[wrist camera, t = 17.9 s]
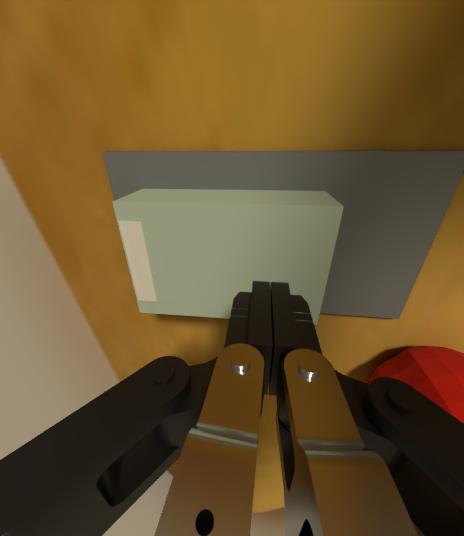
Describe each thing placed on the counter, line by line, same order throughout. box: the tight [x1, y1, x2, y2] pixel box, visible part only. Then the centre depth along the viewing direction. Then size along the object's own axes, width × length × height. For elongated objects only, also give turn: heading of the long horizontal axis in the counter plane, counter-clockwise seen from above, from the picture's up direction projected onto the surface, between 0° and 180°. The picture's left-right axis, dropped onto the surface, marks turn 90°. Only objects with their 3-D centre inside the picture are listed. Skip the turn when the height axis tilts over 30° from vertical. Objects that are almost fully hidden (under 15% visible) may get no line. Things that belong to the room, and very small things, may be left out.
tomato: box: [368, 346, 464, 424], centre depth 16 cm, size 11×11×9 cm
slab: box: [112, 189, 344, 325], centre depth 14 cm, size 7×4×11 cm
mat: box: [102, 151, 464, 319], centre depth 16 cm, size 11×20×1 cm, turn 90°
